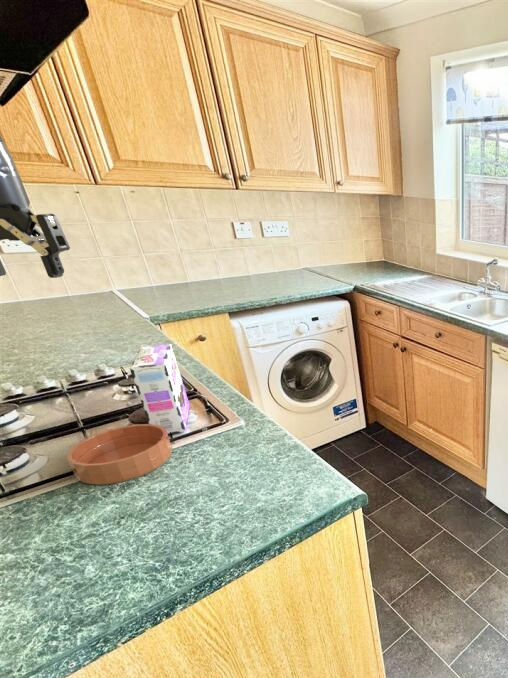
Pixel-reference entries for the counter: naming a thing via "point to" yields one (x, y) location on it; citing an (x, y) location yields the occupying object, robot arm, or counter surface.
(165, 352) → the candy box
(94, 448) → the pan
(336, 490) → the counter surface
